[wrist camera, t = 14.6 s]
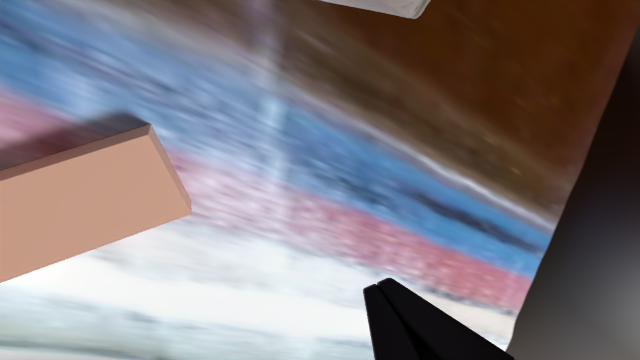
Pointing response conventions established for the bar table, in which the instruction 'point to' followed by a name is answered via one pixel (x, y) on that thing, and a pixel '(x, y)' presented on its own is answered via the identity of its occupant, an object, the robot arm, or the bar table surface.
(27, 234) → the tile
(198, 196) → the bar table surface
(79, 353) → the bar table surface
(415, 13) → the ink box
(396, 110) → the bar table surface
